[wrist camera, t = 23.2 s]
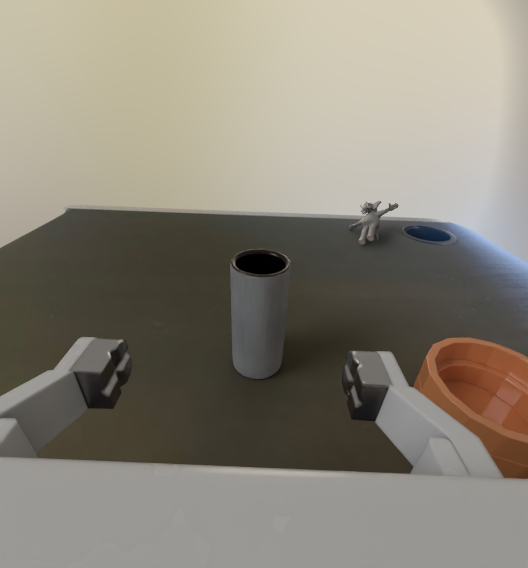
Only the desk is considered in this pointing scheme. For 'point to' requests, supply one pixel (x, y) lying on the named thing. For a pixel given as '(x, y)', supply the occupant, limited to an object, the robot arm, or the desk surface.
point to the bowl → (482, 396)
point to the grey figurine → (370, 221)
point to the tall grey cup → (258, 311)
